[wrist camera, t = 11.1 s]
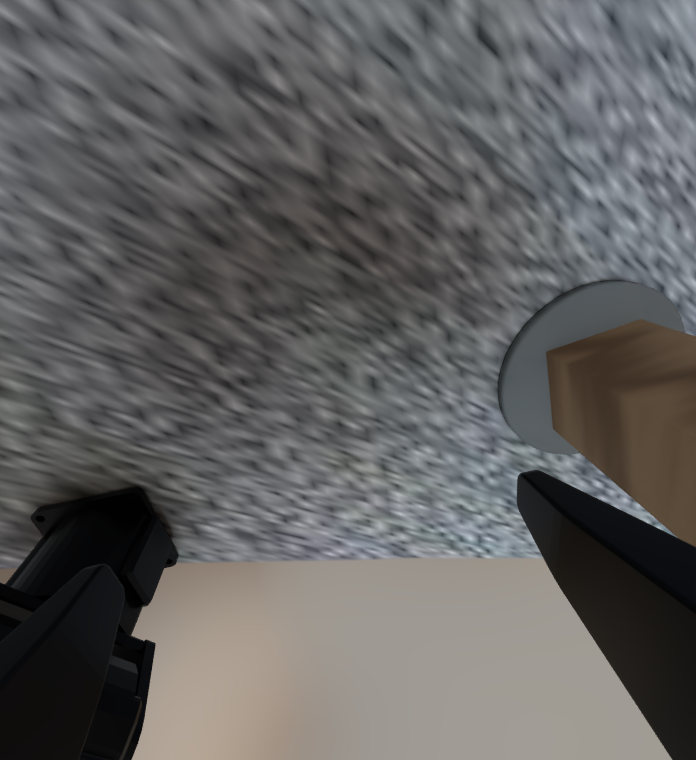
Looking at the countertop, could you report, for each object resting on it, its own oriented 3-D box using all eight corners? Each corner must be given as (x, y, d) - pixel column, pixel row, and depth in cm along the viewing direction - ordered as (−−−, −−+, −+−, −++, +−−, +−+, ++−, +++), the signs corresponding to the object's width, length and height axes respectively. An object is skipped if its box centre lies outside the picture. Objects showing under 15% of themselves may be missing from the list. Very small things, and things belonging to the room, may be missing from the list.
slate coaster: (497, 462, 25) (503, 469, 24) (498, 301, 20) (505, 305, 19) (654, 428, 25) (664, 434, 24) (690, 262, 20) (705, 264, 20)
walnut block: (553, 429, 23) (774, 621, 12) (545, 351, 21) (812, 505, 10) (638, 400, 23) (940, 570, 12) (640, 319, 21) (1018, 439, 10)
